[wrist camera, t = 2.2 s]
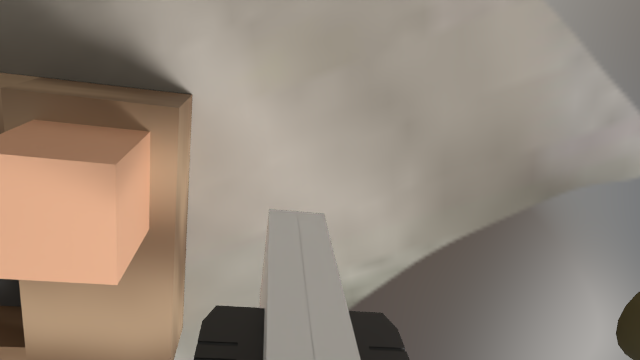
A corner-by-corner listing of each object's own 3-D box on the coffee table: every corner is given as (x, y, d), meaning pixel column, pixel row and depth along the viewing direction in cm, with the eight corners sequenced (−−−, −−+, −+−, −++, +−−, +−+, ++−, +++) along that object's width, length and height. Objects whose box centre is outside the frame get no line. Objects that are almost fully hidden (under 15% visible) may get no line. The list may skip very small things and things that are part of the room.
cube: (149, 229, 18) (117, 285, 14) (41, 221, 17) (-22, 277, 14) (150, 131, 17) (115, 164, 13) (33, 119, 16) (-39, 150, 12)
